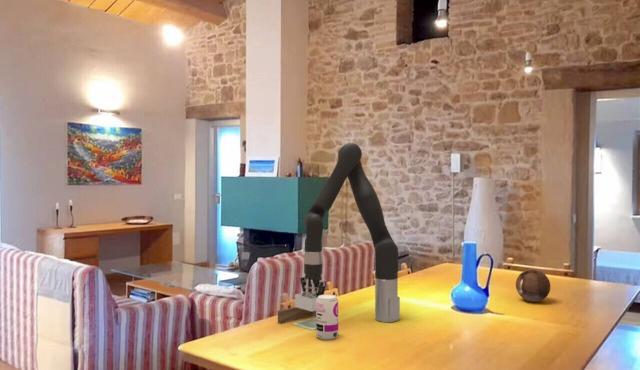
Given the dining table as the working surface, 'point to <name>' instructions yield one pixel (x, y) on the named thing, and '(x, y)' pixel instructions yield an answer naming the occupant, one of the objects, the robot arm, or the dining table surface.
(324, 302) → the supplement can
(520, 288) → the wooden sphere
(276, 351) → the dining table surface
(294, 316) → the brown wooden corner wall
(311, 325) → the pad
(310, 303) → the bracket
